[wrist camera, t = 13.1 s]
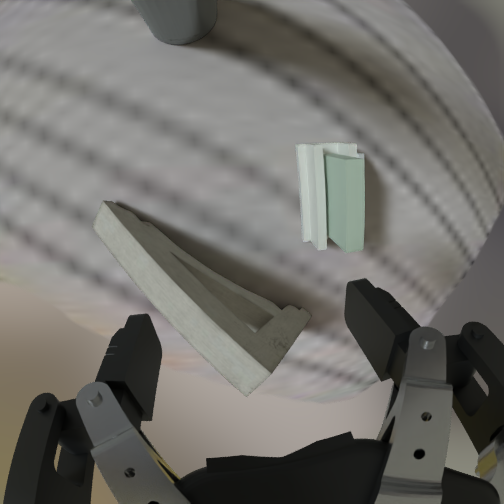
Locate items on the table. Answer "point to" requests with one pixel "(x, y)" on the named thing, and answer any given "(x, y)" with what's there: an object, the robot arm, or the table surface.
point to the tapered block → (345, 200)
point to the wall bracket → (202, 301)
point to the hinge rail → (317, 187)
